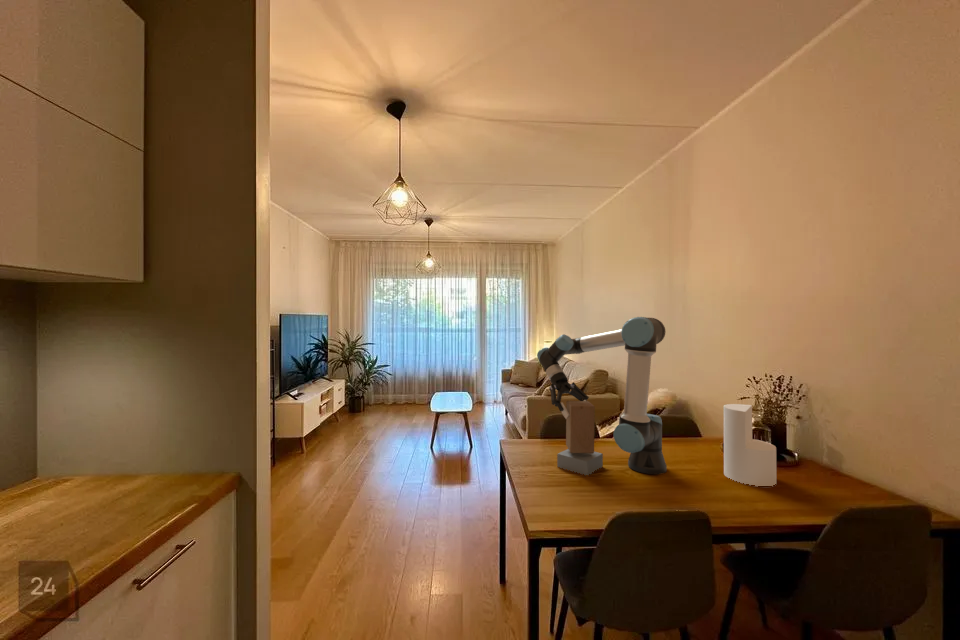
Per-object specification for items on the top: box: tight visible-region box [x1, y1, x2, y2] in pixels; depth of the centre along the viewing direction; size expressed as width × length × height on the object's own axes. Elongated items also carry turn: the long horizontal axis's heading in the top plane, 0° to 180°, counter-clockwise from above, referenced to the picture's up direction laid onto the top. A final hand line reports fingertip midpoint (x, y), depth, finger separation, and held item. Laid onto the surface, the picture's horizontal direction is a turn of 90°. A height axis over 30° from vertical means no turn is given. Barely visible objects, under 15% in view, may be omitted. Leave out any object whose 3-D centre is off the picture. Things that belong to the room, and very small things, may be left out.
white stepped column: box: [723, 403, 777, 487], centre depth 152 cm, size 17×17×28 cm
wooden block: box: [565, 400, 596, 453], centre depth 162 cm, size 10×10×20 cm
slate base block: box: [556, 448, 604, 476], centre depth 163 cm, size 14×14×6 cm
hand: (579, 415), depth 163 cm, fingers closed on wooden block, 12 cm apart
